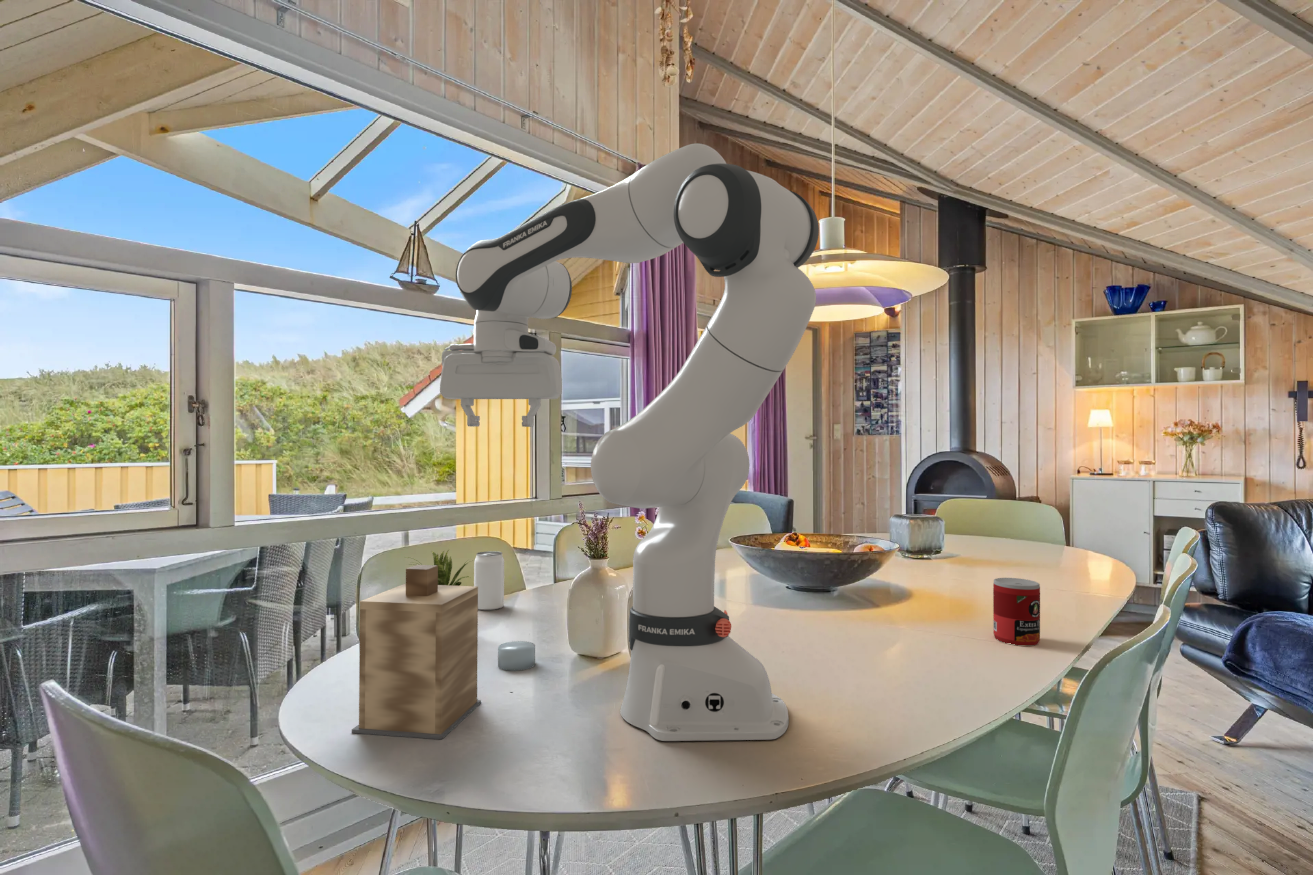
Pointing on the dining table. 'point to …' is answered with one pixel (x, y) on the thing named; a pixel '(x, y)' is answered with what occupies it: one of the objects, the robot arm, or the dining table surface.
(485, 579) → the can
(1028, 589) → the canned food
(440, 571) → the house plant
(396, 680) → the oak cover
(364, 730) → the felt mat
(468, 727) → the dining table surface
